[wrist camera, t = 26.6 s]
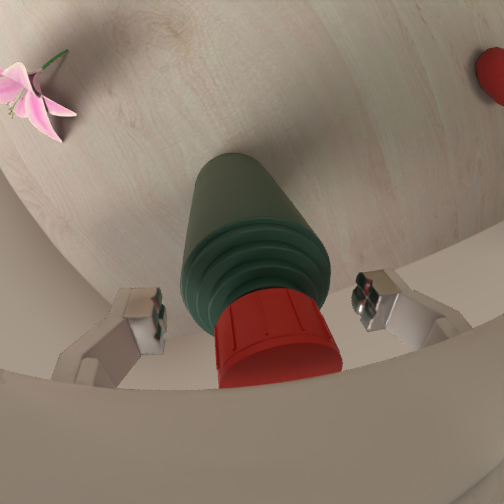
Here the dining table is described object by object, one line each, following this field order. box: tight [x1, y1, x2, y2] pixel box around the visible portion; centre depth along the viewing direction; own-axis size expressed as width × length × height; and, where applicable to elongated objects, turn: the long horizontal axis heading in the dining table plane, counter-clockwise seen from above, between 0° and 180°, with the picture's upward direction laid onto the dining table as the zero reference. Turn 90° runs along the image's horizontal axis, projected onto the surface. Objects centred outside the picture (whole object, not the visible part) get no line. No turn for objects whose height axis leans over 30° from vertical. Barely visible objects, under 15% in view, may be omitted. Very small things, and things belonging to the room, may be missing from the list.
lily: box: [0, 49, 77, 143], centre depth 13 cm, size 12×12×10 cm
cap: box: [214, 288, 343, 389], centre depth 9 cm, size 4×4×2 cm
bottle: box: [180, 153, 331, 337], centre depth 16 cm, size 7×7×18 cm
